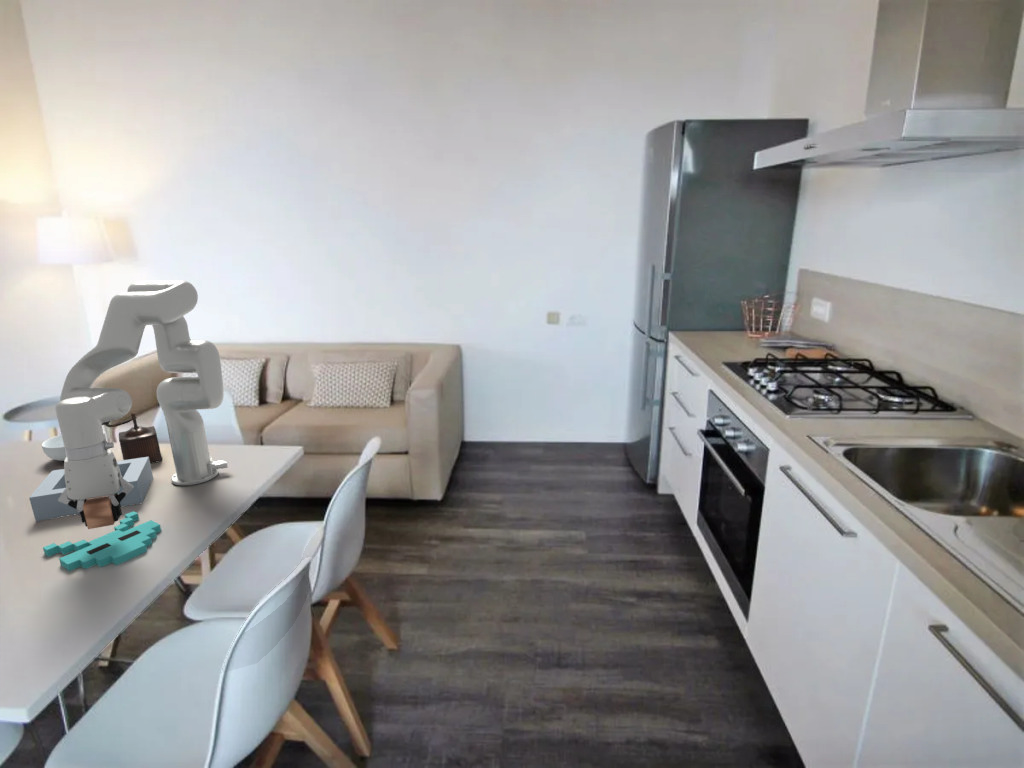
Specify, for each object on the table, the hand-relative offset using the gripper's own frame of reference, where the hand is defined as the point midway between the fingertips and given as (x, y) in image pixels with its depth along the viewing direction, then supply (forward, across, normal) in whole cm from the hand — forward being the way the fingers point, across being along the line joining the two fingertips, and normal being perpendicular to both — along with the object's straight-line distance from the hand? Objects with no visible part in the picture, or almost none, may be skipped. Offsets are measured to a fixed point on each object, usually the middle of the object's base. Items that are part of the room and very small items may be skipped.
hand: (103, 520), depth 134 cm
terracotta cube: (0, 0, 0) cm, 0 cm away
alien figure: (+8, 0, 0) cm, 8 cm away
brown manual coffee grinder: (+7, +5, -57) cm, 58 cm away
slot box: (+7, +9, -31) cm, 33 cm away
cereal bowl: (+7, +23, -69) cm, 73 cm away
